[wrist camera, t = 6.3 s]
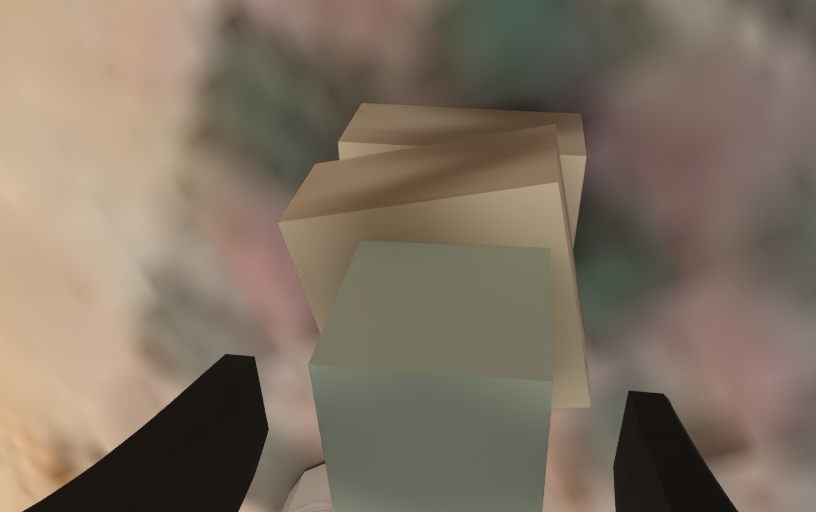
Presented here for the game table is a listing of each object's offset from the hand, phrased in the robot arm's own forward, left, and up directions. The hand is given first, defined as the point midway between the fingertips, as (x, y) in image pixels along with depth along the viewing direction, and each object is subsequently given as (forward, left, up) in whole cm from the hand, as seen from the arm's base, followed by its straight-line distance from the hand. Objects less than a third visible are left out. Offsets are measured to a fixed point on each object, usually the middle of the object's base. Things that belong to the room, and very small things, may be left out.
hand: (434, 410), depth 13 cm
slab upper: (0, 0, -6) cm, 6 cm away
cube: (0, 0, -3) cm, 3 cm away
